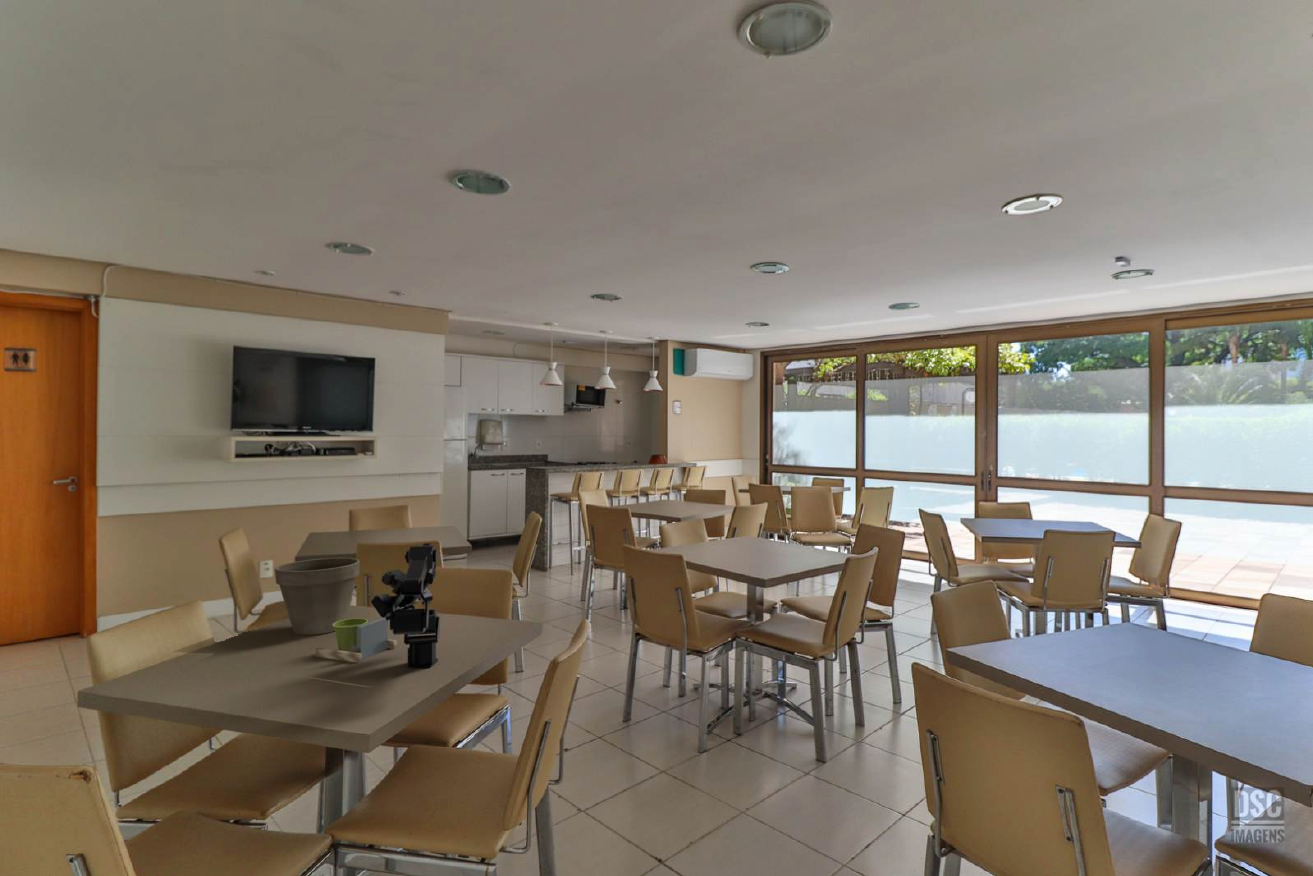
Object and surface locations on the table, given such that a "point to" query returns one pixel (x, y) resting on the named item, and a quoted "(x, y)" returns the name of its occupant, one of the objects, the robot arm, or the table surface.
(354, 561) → the plant pot
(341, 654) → the wooden rail frame
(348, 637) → the plant pot
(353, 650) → the board
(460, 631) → the table surface
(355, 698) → the table surface
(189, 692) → the table surface
